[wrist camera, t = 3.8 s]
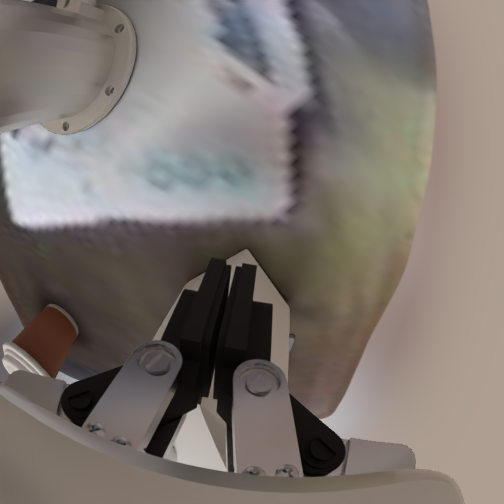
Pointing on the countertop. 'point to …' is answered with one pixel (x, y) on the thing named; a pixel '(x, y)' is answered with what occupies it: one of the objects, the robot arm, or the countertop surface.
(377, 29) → the countertop surface
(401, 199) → the countertop surface
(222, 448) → the milk carton
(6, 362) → the coffee cup
